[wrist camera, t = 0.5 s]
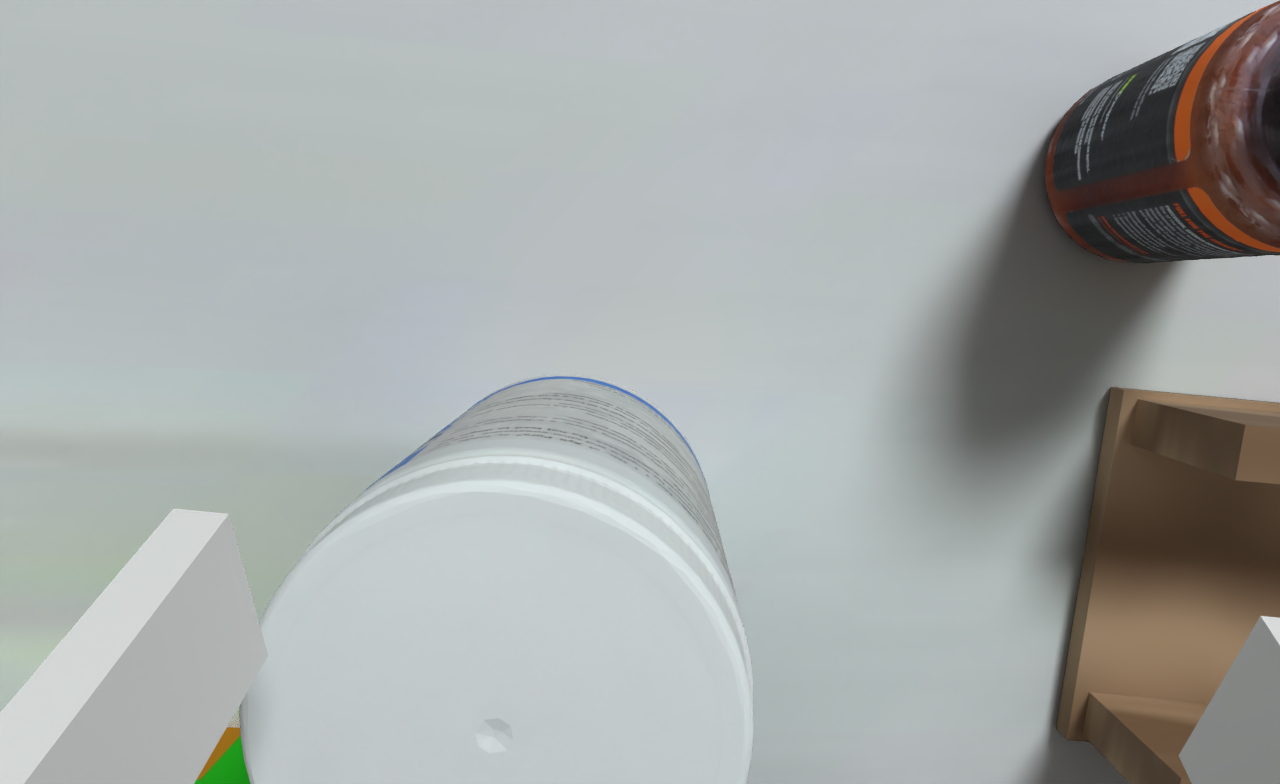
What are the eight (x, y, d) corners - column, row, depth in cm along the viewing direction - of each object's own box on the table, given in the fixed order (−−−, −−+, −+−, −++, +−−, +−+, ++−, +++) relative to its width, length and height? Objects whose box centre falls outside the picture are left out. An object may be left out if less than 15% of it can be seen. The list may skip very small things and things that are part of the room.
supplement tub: (435, 362, 30) (223, 439, 15) (719, 379, 29) (786, 475, 15) (426, 639, 31) (222, 963, 16) (699, 657, 31) (742, 997, 16)
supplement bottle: (1209, 269, 29) (1566, 260, 18) (1026, 258, 29) (1266, 243, 18) (1236, 79, 28) (1625, -57, 17) (1047, 68, 28) (1311, -74, 17)
